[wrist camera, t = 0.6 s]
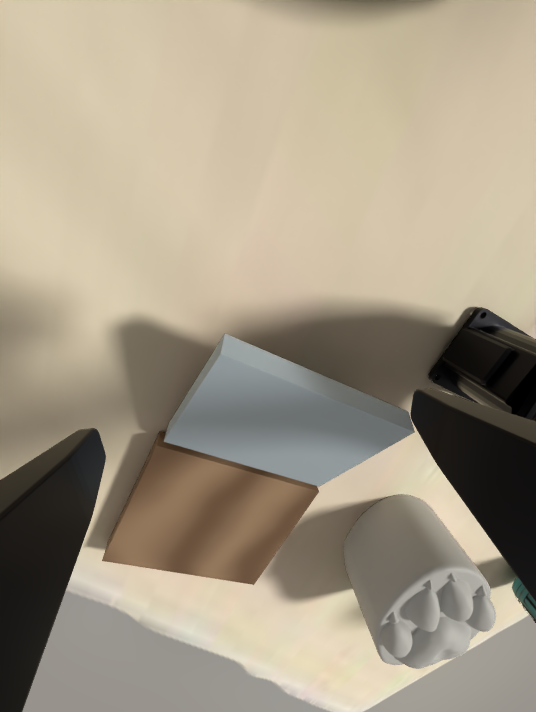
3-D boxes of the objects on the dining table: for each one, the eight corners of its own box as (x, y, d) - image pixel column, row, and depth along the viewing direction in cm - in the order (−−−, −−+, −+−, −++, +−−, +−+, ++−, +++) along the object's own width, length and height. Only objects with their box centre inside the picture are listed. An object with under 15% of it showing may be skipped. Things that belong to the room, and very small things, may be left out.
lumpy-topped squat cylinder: (347, 590, 36) (386, 695, 28) (339, 509, 30) (385, 611, 22) (433, 565, 37) (495, 660, 29) (441, 482, 31) (519, 571, 23)
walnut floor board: (313, 477, 28) (319, 491, 26) (251, 567, 31) (254, 584, 30) (159, 431, 24) (156, 445, 22) (107, 542, 27) (102, 560, 25)
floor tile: (408, 411, 21) (414, 432, 20) (317, 468, 27) (319, 486, 26) (224, 333, 17) (220, 353, 16) (169, 422, 23) (163, 441, 22)
